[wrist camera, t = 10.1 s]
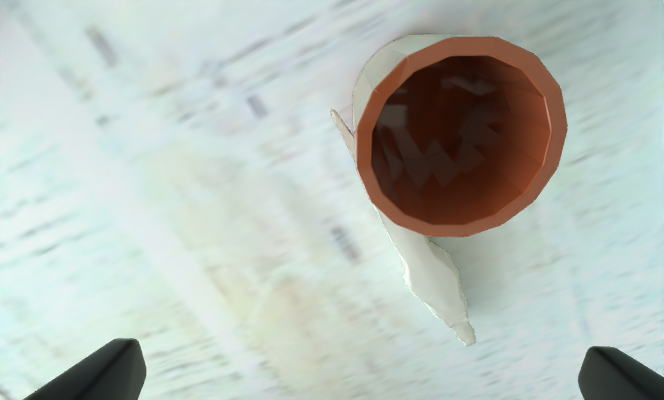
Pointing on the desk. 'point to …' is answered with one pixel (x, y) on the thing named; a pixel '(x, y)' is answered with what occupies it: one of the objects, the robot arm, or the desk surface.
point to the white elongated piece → (425, 267)
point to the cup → (455, 131)
